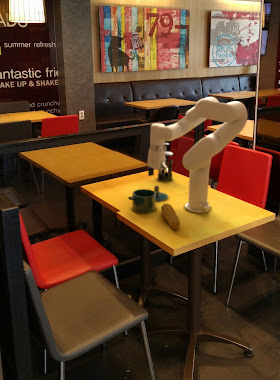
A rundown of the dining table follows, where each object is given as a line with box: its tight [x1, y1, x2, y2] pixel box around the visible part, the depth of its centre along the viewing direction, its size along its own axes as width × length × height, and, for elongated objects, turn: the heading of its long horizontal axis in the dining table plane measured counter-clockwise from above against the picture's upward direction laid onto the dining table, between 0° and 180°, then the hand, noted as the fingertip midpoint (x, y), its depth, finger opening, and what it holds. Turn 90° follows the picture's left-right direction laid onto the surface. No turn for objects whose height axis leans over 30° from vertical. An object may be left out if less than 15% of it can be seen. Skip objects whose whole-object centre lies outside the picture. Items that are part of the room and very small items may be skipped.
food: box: [160, 203, 181, 230], centre depth 183 cm, size 21×6×6 cm, turn 12°
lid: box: [153, 185, 169, 202], centre depth 212 cm, size 12×12×7 cm
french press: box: [156, 142, 174, 183], centre depth 241 cm, size 12×9×23 cm
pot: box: [128, 188, 160, 214], centre depth 197 cm, size 11×17×8 cm
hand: (156, 178), depth 211 cm, fingers open, 9 cm apart
